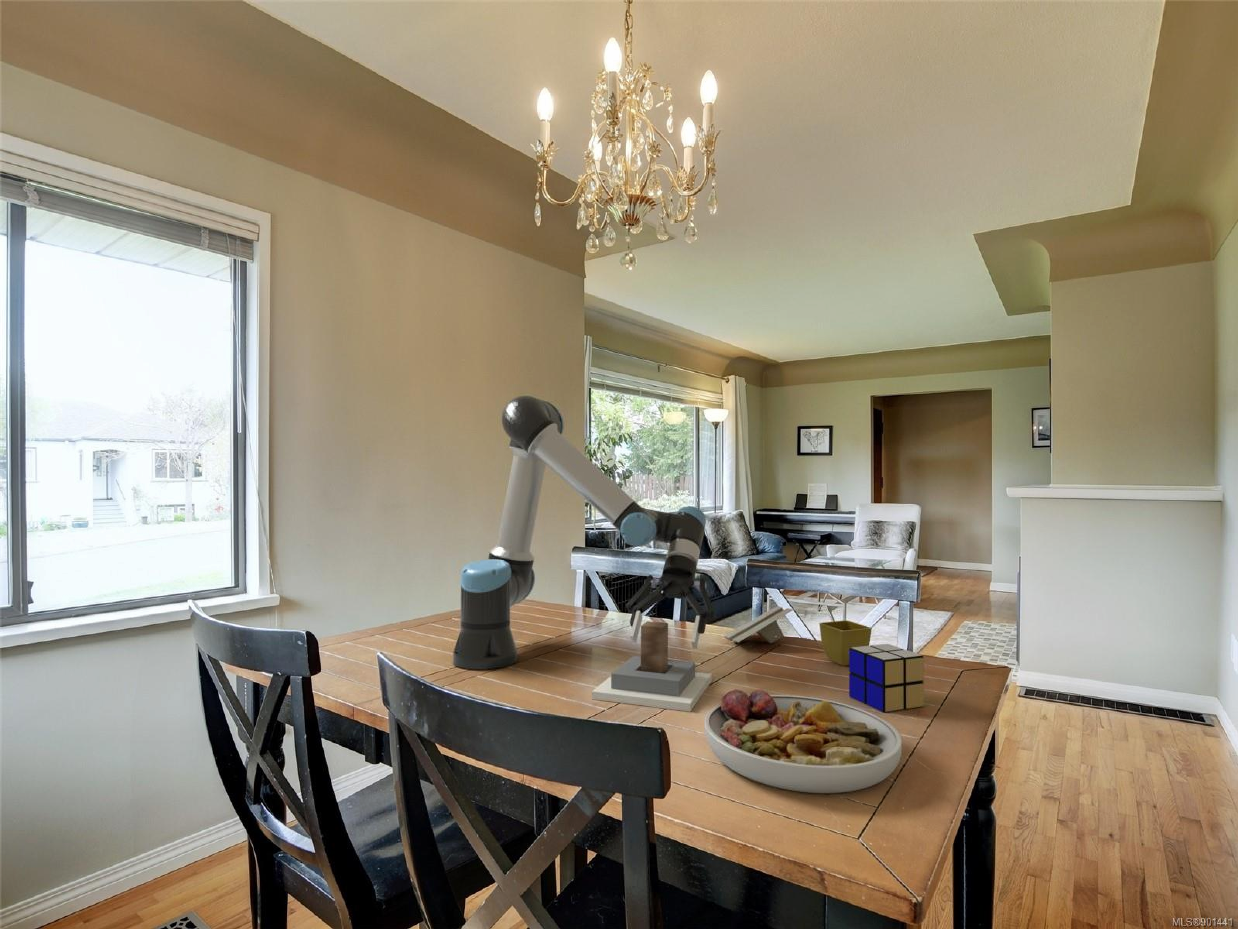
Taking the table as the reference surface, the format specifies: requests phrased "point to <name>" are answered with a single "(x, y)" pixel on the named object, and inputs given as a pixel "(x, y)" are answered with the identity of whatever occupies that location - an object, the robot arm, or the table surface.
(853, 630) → the flower pot
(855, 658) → the puzzle cube
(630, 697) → the socket plate
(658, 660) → the walnut peg
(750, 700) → the bowl
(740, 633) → the grey sloped stand
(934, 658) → the table surface
